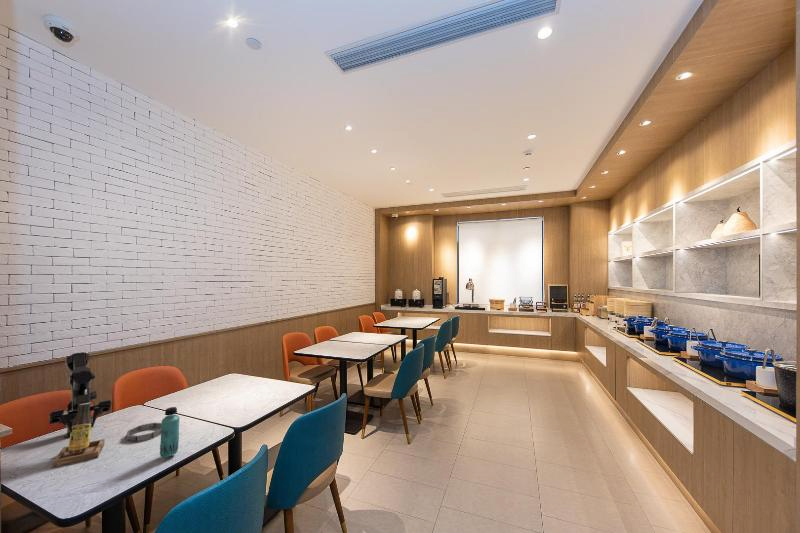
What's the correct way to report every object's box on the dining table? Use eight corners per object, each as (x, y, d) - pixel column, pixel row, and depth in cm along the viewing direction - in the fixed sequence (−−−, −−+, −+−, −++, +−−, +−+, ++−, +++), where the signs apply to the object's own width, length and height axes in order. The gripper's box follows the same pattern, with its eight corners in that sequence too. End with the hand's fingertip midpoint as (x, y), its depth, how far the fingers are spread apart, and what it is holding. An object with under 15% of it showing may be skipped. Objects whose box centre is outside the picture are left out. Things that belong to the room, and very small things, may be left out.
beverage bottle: (165, 452, 136) (167, 405, 137) (182, 452, 136) (183, 404, 137) (155, 461, 129) (157, 411, 130) (172, 460, 130) (174, 411, 131)
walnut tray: (63, 453, 135) (63, 447, 135) (104, 444, 142) (104, 438, 142) (52, 468, 124) (53, 461, 124) (97, 457, 132) (98, 451, 132)
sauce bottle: (66, 456, 129) (70, 407, 130) (69, 450, 134) (73, 402, 135) (88, 451, 133) (92, 403, 134) (90, 445, 138) (94, 399, 139)
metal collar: (128, 432, 153) (128, 427, 154) (164, 425, 161) (164, 420, 162) (124, 445, 142) (124, 439, 142) (163, 436, 150) (163, 431, 150)
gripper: (51, 392, 130) (49, 427, 122) (111, 381, 144) (114, 413, 136) (49, 406, 135) (48, 441, 127) (108, 394, 149) (110, 425, 141)
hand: (81, 429), depth 133 cm, fingers closed on sauce bottle, 6 cm apart
